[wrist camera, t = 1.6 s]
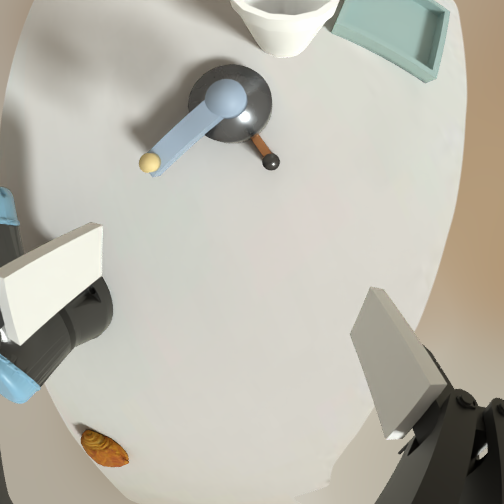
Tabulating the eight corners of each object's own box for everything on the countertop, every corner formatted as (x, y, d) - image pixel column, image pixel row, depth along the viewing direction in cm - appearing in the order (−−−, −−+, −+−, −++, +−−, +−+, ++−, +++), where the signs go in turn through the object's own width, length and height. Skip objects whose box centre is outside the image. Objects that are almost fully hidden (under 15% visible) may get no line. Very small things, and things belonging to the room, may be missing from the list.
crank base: (182, 137, 31) (162, 133, 25) (212, 64, 28) (198, 45, 22) (275, 170, 32) (275, 172, 25) (306, 94, 28) (313, 80, 22)
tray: (331, 32, 25) (335, 23, 22) (356, -28, 21) (361, -38, 18) (425, 83, 26) (436, 78, 23) (440, 18, 21) (450, 11, 18)
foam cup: (256, 1, 24) (246, -58, 12) (328, 20, 24) (350, -36, 12) (233, 58, 27) (209, 9, 15) (309, 79, 28) (327, 36, 15)
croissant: (101, 446, 63) (93, 464, 56) (78, 422, 56) (67, 443, 49) (139, 458, 61) (131, 479, 54) (118, 437, 54) (108, 461, 47)
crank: (231, 77, 25) (226, 68, 22) (255, 103, 26) (252, 96, 23) (143, 155, 29) (130, 155, 26) (164, 180, 30) (152, 183, 27)
